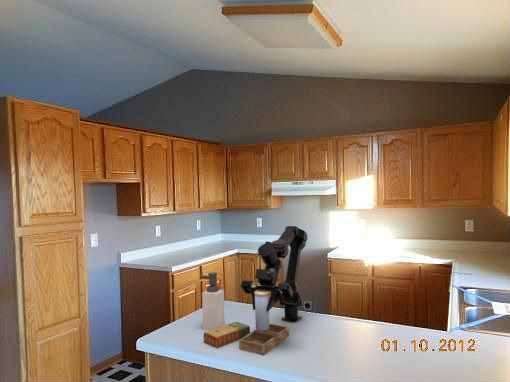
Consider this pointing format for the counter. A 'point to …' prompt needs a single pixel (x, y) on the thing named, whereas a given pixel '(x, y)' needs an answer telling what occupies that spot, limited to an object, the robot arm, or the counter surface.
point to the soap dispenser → (212, 304)
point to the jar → (261, 309)
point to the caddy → (264, 339)
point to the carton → (226, 334)
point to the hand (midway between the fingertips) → (260, 310)
